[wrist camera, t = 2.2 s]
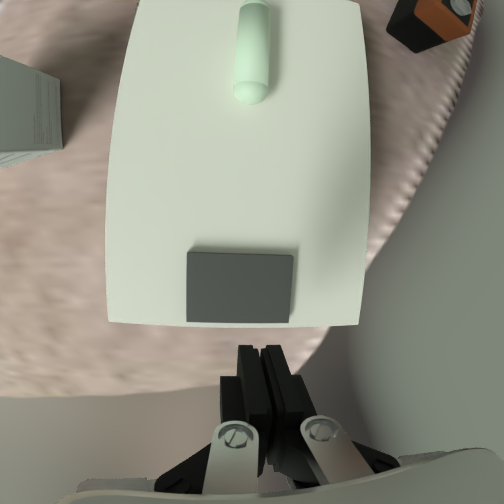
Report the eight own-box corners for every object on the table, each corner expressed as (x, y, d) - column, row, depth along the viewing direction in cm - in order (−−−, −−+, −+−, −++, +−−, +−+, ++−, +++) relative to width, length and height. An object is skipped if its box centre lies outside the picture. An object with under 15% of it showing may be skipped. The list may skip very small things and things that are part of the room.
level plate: (150, -1, 17) (142, -35, 13) (347, 18, 19) (369, -10, 15) (118, 310, 20) (98, 332, 15) (344, 313, 22) (371, 335, 17)
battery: (383, 31, 23) (441, -3, 13) (399, -5, 21) (451, -39, 12) (415, 56, 24) (478, 33, 14) (429, 18, 22) (485, -7, 13)
